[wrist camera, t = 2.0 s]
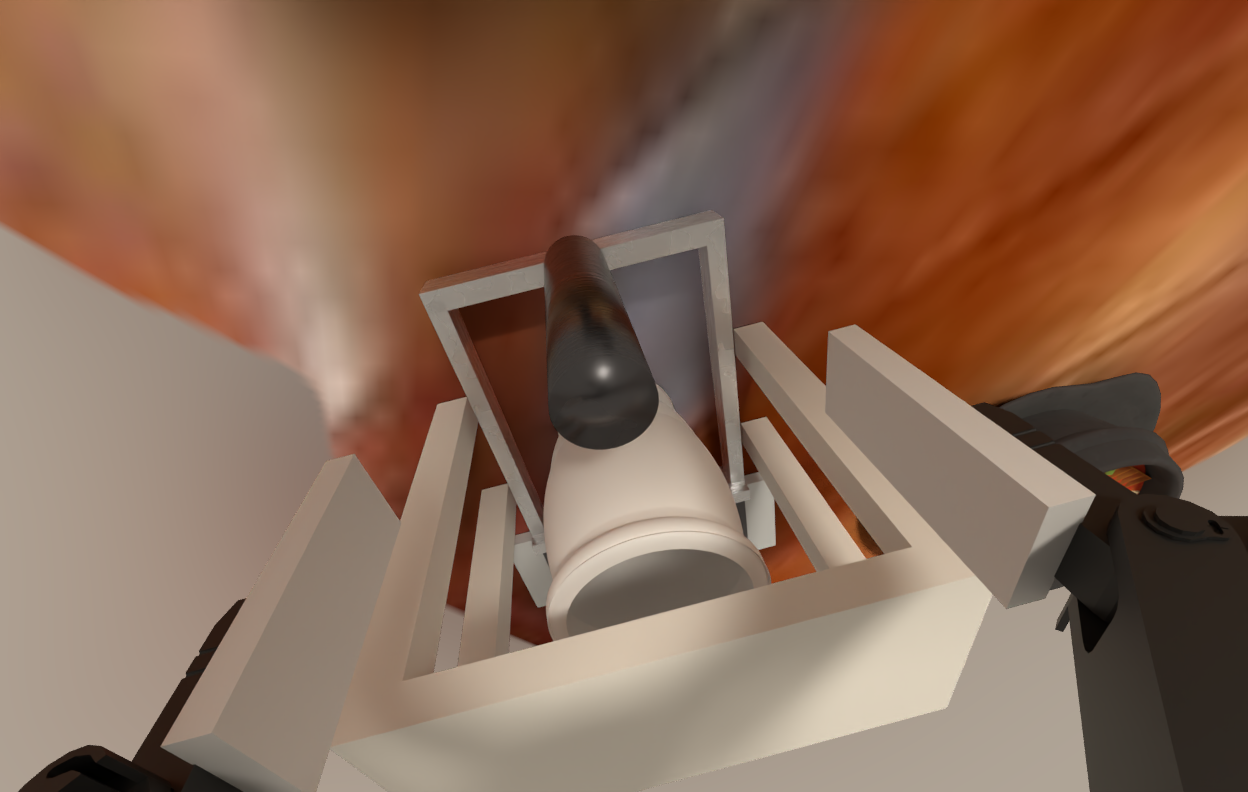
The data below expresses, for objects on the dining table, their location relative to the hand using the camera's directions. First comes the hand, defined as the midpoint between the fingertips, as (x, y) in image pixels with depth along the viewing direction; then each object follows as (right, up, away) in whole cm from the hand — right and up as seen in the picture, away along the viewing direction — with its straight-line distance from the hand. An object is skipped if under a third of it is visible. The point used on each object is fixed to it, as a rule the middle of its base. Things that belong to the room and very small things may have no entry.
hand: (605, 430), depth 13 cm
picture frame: (-1, +1, +18) cm, 18 cm away
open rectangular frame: (+1, -6, +24) cm, 25 cm away
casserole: (+34, -5, +30) cm, 45 cm away
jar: (0, -1, +21) cm, 21 cm away
